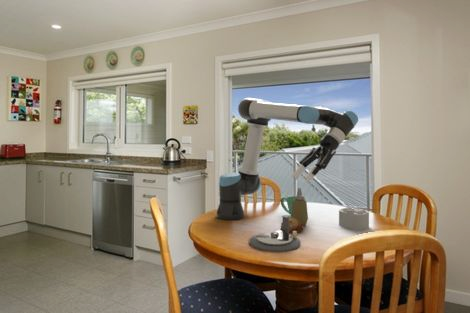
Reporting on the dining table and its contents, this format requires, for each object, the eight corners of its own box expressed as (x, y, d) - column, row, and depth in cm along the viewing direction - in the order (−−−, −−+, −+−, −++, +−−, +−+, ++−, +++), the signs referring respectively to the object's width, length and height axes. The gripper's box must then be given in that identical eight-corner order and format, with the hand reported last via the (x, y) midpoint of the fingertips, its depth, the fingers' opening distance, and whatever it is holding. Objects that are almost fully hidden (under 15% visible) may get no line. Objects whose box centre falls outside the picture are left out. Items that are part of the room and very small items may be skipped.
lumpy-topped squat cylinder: (361, 231, 136) (361, 212, 136) (334, 226, 146) (334, 208, 145) (371, 226, 144) (371, 208, 143) (344, 221, 153) (344, 204, 153)
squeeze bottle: (308, 223, 150) (308, 187, 150) (307, 227, 143) (307, 189, 142) (292, 222, 153) (292, 186, 152) (289, 226, 145) (289, 188, 145)
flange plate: (252, 243, 118) (252, 217, 117) (263, 231, 132) (263, 208, 132) (288, 247, 113) (288, 219, 112) (296, 235, 127) (296, 210, 127)
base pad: (242, 248, 116) (242, 237, 116) (257, 233, 135) (257, 224, 134) (295, 254, 109) (295, 243, 109) (303, 238, 127) (303, 228, 127)
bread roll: (282, 235, 143) (274, 220, 143) (301, 225, 144) (294, 210, 143) (287, 242, 133) (279, 226, 133) (308, 232, 134) (300, 215, 133)
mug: (308, 216, 165) (308, 197, 165) (298, 219, 158) (298, 200, 158) (286, 212, 176) (286, 194, 175) (275, 215, 169) (275, 197, 169)
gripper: (354, 146, 124) (321, 188, 119) (321, 146, 144) (292, 181, 139) (344, 133, 122) (310, 175, 117) (312, 134, 142) (282, 170, 137)
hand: (300, 178), depth 128 cm, fingers open, 9 cm apart
